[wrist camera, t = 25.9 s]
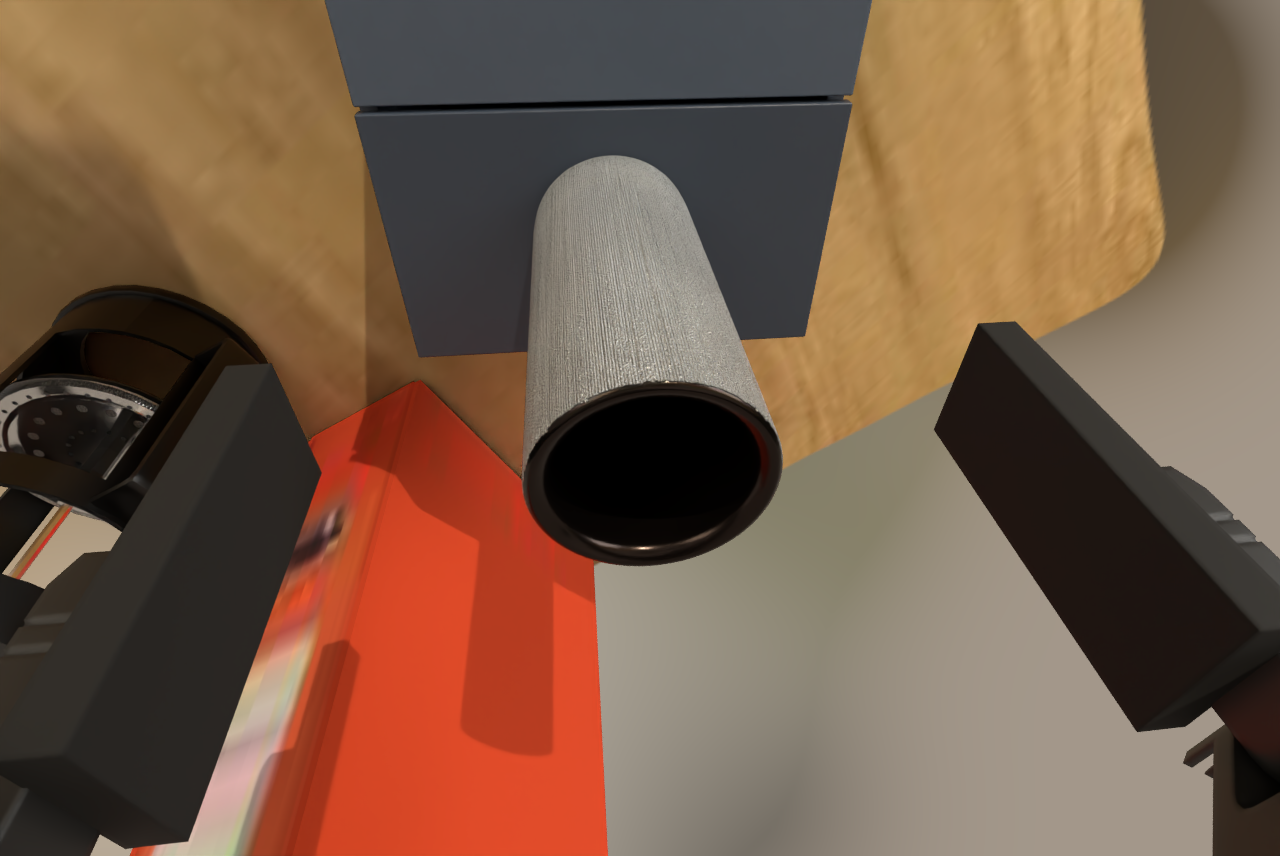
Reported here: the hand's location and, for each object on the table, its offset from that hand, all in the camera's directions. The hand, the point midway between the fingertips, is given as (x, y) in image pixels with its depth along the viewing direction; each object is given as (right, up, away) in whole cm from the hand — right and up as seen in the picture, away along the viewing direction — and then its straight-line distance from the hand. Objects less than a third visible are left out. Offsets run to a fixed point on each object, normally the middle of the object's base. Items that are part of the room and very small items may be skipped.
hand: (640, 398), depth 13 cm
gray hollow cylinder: (-1, +5, +6) cm, 8 cm away
